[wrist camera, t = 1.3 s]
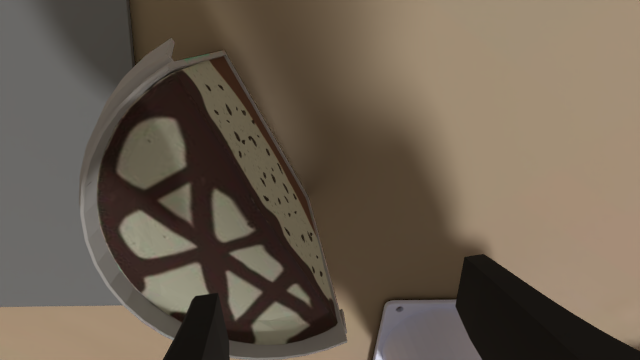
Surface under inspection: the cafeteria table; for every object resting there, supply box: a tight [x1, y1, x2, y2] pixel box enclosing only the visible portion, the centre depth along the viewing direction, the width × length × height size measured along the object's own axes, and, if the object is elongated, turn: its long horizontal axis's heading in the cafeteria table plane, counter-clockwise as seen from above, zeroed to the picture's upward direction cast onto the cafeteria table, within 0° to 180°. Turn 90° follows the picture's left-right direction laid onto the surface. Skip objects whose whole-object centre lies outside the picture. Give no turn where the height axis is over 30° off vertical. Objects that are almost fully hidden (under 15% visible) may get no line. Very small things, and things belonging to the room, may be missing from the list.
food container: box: [79, 38, 347, 360], centre depth 17 cm, size 12×6×10 cm, turn 26°
